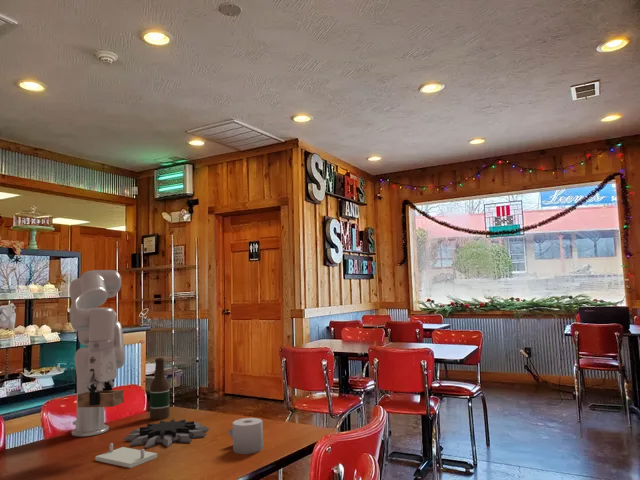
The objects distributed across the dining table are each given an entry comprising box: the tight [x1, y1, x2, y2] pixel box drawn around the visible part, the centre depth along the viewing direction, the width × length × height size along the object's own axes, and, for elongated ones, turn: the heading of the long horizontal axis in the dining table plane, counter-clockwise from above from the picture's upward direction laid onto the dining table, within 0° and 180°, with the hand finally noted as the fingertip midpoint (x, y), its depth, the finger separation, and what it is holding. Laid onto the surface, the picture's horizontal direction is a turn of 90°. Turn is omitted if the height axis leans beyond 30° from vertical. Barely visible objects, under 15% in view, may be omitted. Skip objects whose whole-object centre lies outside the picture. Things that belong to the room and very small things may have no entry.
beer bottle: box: [149, 357, 171, 421], centre depth 205 cm, size 8×8×24 cm
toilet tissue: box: [227, 417, 264, 455], centre depth 159 cm, size 9×13×9 cm
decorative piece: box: [123, 418, 211, 449], centre depth 176 cm, size 30×4×30 cm
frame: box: [78, 389, 125, 408], centre depth 160 cm, size 12×6×4 cm, turn 82°
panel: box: [95, 442, 158, 469], centre depth 153 cm, size 16×10×4 cm, turn 60°
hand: (101, 402), depth 160 cm, fingers closed on frame, 6 cm apart
